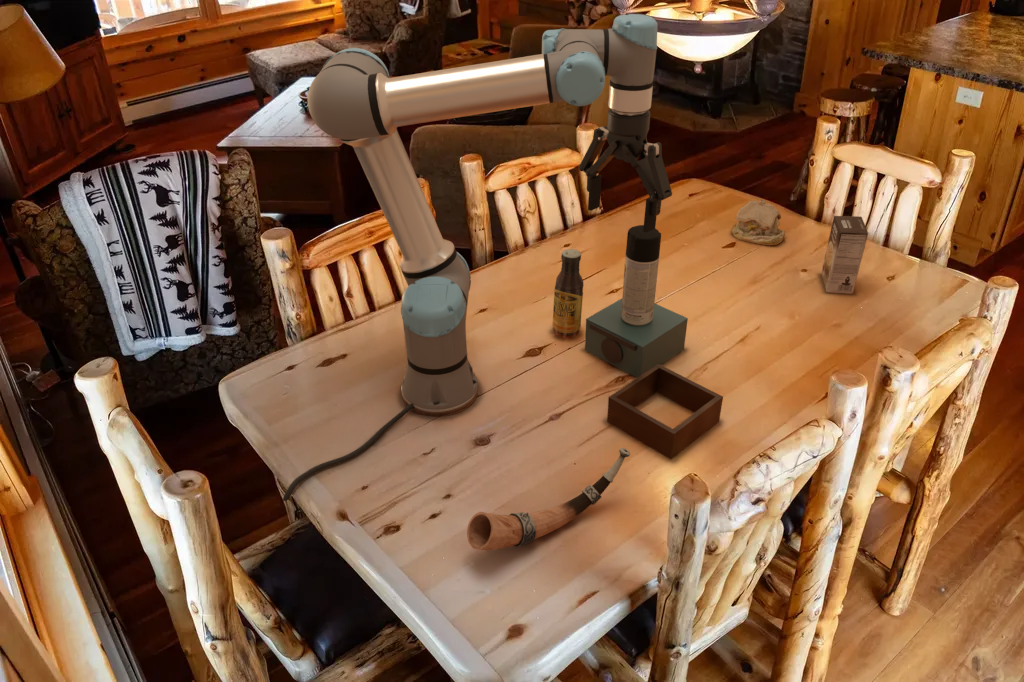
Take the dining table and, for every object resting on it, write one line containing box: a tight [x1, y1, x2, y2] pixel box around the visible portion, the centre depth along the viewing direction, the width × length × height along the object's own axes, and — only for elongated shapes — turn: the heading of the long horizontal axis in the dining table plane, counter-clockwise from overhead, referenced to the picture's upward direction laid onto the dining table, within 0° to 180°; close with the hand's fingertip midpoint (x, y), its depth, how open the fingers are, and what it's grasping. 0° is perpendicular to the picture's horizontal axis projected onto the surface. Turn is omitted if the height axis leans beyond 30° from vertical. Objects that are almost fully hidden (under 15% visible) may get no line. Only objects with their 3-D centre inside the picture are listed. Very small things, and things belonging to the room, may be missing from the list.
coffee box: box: [820, 215, 869, 295], centre depth 189 cm, size 9×6×16 cm
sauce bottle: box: [551, 248, 584, 339], centre depth 173 cm, size 6×6×20 cm
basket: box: [606, 364, 724, 460], centre depth 150 cm, size 15×15×6 cm
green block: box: [584, 298, 689, 379], centre depth 170 cm, size 16×15×8 cm
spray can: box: [621, 224, 662, 326], centre depth 162 cm, size 7×7×20 cm
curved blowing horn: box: [466, 447, 631, 551], centre depth 128 cm, size 6×30×10 cm, turn 121°
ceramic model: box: [731, 199, 786, 246], centre depth 214 cm, size 14×11×10 cm
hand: (620, 219), depth 154 cm, fingers open, 13 cm apart
